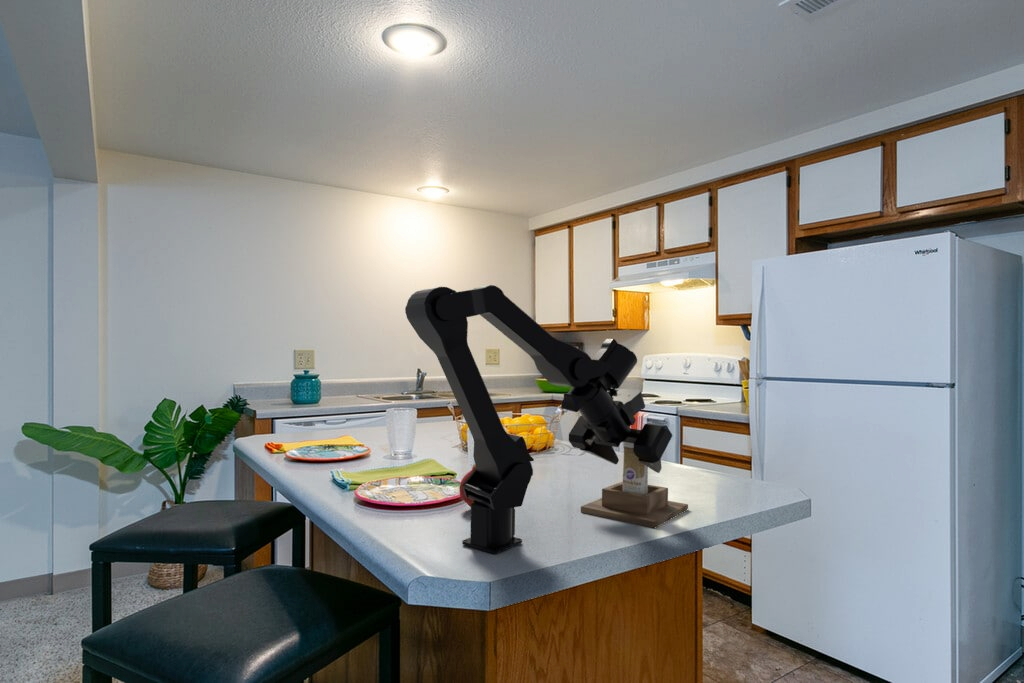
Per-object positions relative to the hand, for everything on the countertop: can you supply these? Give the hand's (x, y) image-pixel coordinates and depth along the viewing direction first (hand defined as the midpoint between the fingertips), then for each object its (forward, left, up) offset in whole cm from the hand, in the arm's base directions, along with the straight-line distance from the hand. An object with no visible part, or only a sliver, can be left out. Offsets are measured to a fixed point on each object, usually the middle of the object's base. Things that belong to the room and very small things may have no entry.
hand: (637, 466), depth 105 cm
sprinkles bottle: (-1, 0, -8) cm, 8 cm away
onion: (-19, +22, -8) cm, 30 cm away
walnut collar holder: (-1, 0, -8) cm, 8 cm away
